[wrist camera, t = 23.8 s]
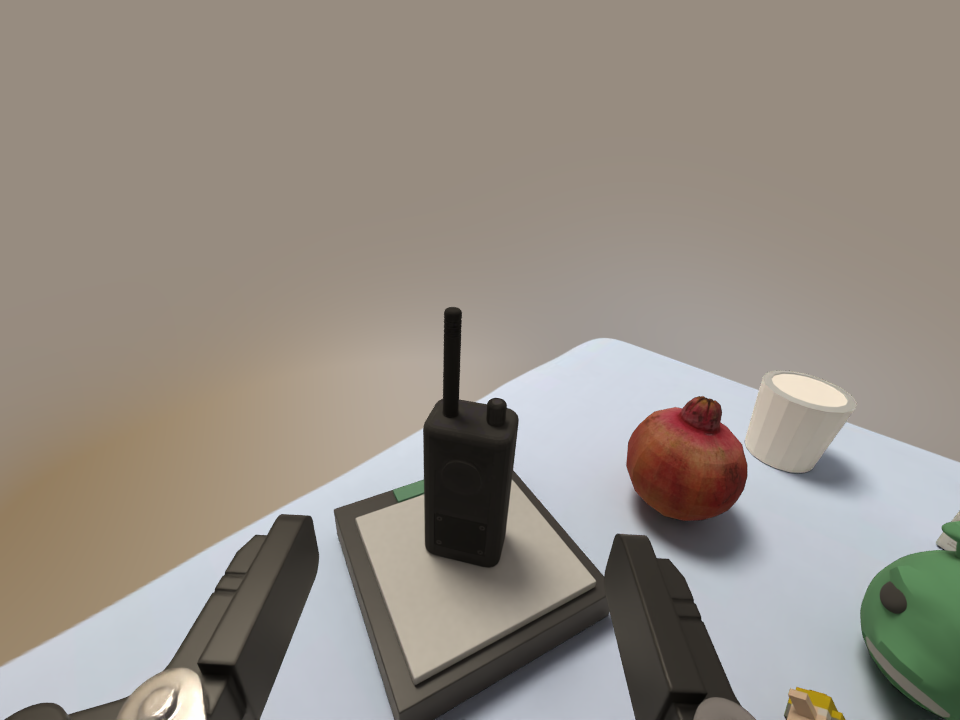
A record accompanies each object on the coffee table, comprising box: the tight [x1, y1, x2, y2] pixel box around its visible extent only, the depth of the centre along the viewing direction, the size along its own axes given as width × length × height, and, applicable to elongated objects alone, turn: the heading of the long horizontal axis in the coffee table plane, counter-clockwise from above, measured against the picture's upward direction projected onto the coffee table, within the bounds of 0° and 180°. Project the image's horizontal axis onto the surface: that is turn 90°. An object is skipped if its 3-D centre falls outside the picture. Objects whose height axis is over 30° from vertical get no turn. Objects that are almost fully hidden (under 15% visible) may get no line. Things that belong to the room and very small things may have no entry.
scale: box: [334, 471, 609, 720], centre depth 28 cm, size 13×13×3 cm
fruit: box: [626, 396, 747, 521], centre depth 32 cm, size 8×8×10 cm
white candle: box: [745, 370, 857, 473], centre depth 39 cm, size 7×7×7 cm
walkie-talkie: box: [423, 307, 518, 568], centre depth 23 cm, size 5×3×15 cm
